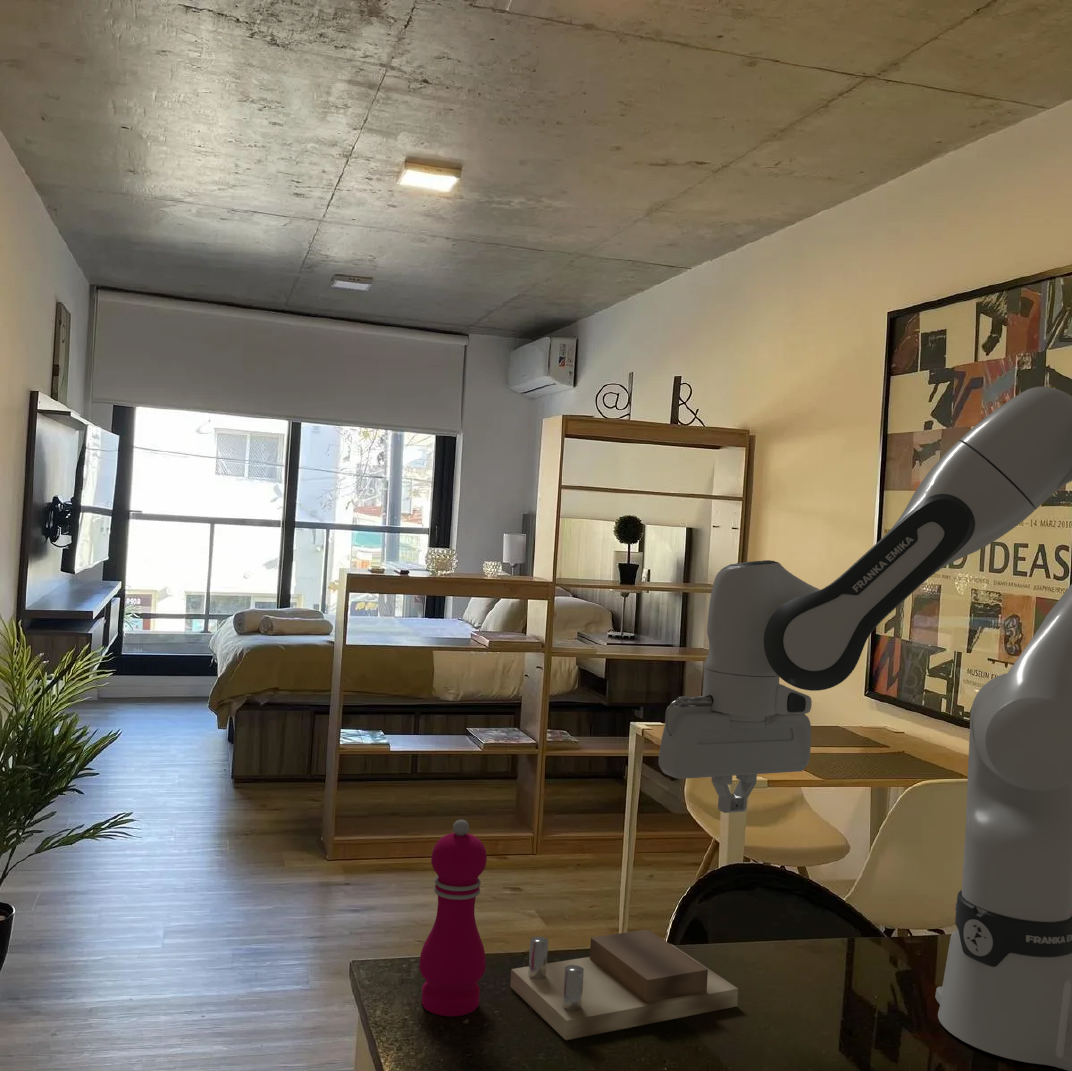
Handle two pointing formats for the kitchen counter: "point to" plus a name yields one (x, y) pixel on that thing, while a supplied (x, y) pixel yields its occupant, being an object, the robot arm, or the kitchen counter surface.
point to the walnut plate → (648, 965)
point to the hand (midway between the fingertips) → (731, 811)
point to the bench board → (602, 996)
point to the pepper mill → (454, 927)
